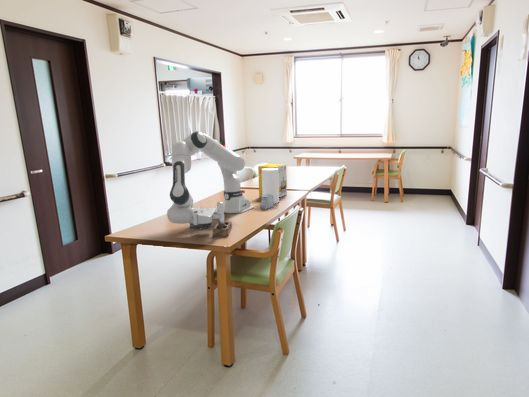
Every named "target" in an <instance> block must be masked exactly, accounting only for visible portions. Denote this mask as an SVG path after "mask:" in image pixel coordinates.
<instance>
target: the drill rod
mask: <svg viewBox="0 0 529 397" xmlns="http://www.w3.org/2000/svg"><path fill="white" fill-rule="evenodd" d="M216 208H217V215H218V214H222V218H217V222H218V229H221V228H225V222H226V221H225V212H224V201H217V202H216Z"/></svg>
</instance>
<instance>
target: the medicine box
mask: <svg viewBox="0 0 529 397" xmlns="http://www.w3.org/2000/svg"><path fill="white" fill-rule="evenodd" d="M260 198H261V209H263V208H264V210H267V208H268V209H270V207H271V208H274V204H273V195H265V196H262V197H260Z"/></svg>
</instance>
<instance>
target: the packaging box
mask: <svg viewBox="0 0 529 397" xmlns="http://www.w3.org/2000/svg"><path fill="white" fill-rule="evenodd" d="M264 168H278V171H279V197H281V198H282V196H284V195H286V196H287V195H288V188H287V187H288V184H287V182H288V180H287V164H284V163H283V164H281V163H279V164H278V163H267V164H263V165H258V166H257V170H258V197H259V198H261V197H262V169H264ZM284 197H285V196H284Z"/></svg>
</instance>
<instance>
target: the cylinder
mask: <svg viewBox="0 0 529 397" xmlns="http://www.w3.org/2000/svg"><path fill="white" fill-rule="evenodd" d="M265 195H273V203H276V204H279V203H280V198H279V171H278V168H264V169H262V196H265ZM278 202H279V203H278Z"/></svg>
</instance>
